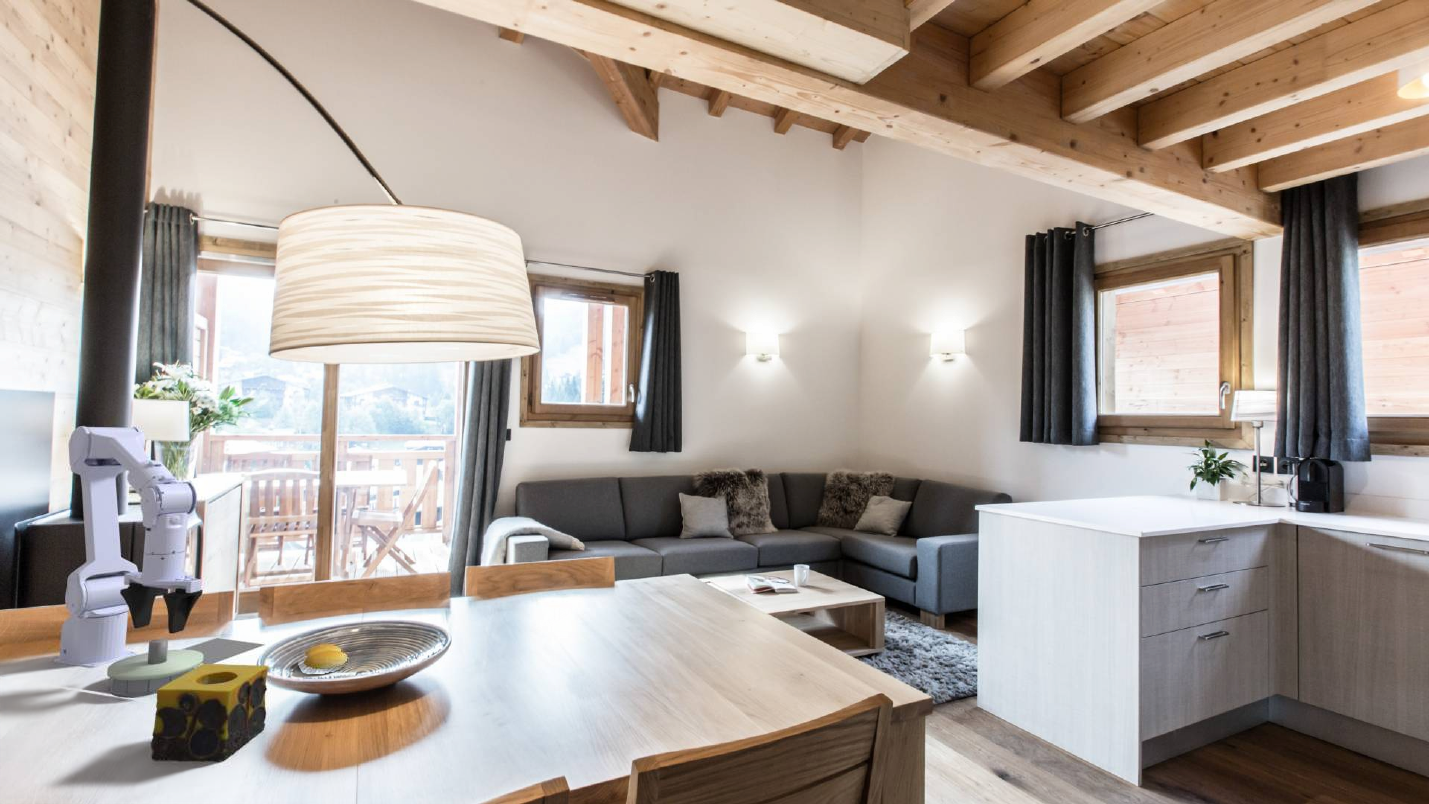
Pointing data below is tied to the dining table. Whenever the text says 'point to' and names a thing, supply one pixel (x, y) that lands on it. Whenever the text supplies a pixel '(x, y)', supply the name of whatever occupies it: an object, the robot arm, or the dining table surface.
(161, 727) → the yellow patterned cube
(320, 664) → the bread roll
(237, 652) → the mat
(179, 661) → the lid
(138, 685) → the bowl
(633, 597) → the dining table surface
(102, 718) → the dining table surface
